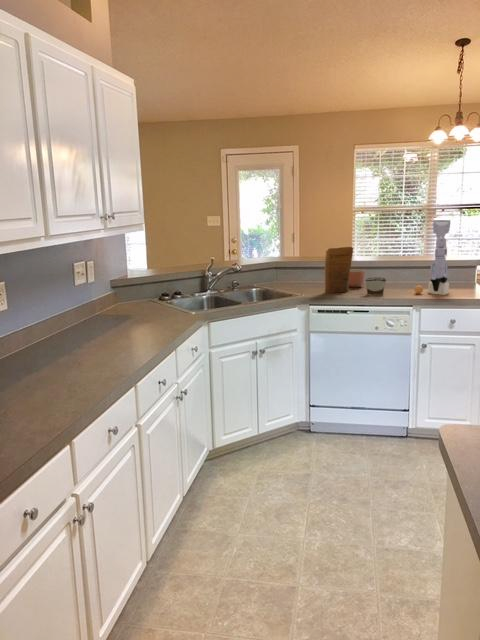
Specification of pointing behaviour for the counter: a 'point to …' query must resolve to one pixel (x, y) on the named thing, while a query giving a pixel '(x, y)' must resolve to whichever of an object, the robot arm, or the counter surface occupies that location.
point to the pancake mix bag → (337, 269)
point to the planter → (356, 278)
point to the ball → (418, 289)
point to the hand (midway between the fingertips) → (438, 290)
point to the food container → (375, 285)
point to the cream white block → (439, 288)
